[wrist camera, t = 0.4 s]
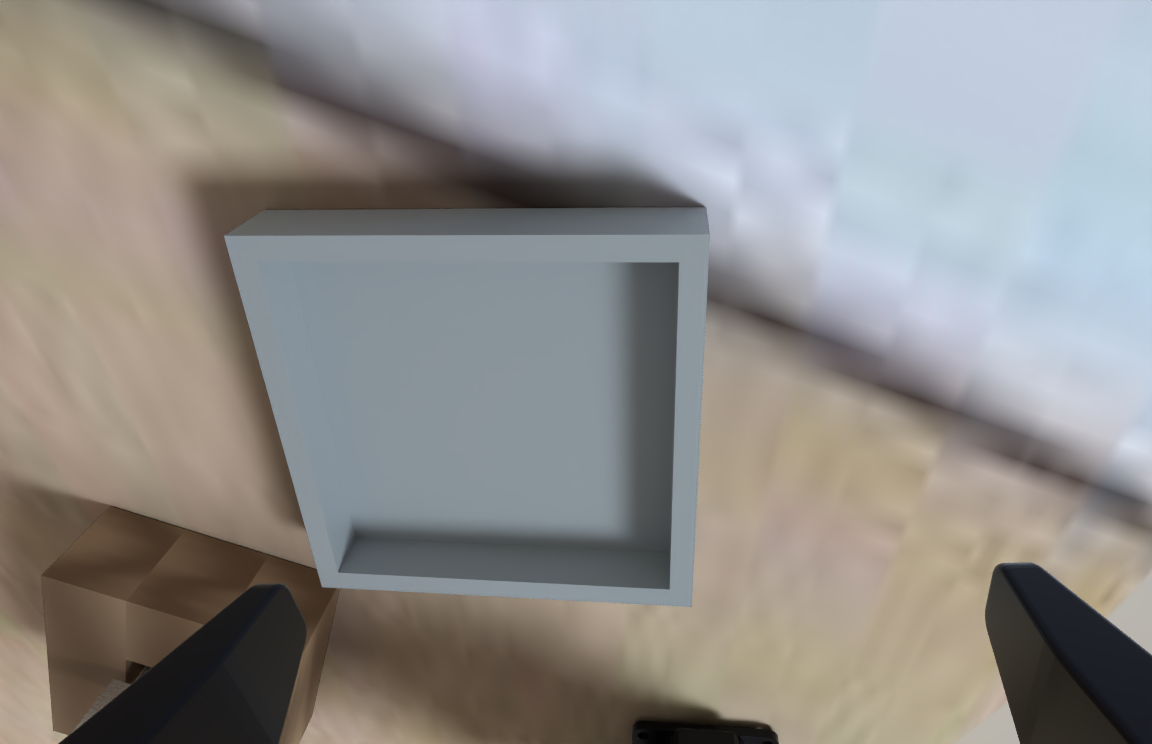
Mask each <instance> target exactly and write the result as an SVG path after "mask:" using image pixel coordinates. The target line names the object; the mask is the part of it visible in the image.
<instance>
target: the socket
mask: <svg viewBox="0 0 1152 744" xmlns="http://www.w3.org/2000/svg"><path fill="white" fill-rule="evenodd" d="M41 577H42V590H43V603H44V617H45V630H46V643H47V656H48V669H49V682H50V695H51V708H52V721H53V731H56V732H60V733H63V734H67V735H70V734H71V733H72V732H73V730H74V729H75V728H76V726H77V725H78V724H79V722H80V721H81V720H82V719H83V717H84V716H85V715H86V713H87V712H88V711H89V709H90V708H91V707H92V705H93V704H94V703H95V702H96V700H97V699H98V698H99V696H100V695H101V694H102V692H103V691H104V690H105V688H106V687H107V686H108V685H109V683H110V682H111V681H112V679H115V680H118V681H121V682H125V683H128V684H132V683H133V682H135V681H136V680H137V678H138V677H139V675H140V674H141V673H142V671H143V670H144V669H145V667H146V666H149V667H153V666H154V665H155V664H157V663H158V662H159V661H160V660H162V659H163V658H164V657H165V656H166V655H168V654H169V653H170V652H171V651H173V650H174V649H175V648H176V647H178V646H179V645H180V644H181V643H182V642H184V641H185V640H186V639H187V638H189V637H190V636H191V635H192V634H193V633H195V632H196V631H197V630H198V629H200V628H201V627H202V626H203V625H204V624H206V623H207V622H208V621H209V620H211V619H212V618H213V617H214V616H215V615H217V614H218V613H219V612H220V611H222V610H223V609H224V608H225V607H226V606H228V605H229V604H230V603H231V602H233V601H234V600H235V599H236V598H238V597H239V596H240V595H241V594H242V593H244V592H245V591H246V590H247V589H249V588H250V587H252V586H253V585H256V584H266V583H281V584H284V585H285V586H287V587H288V589H289V590H290V592H291V594H292V596H293V598H294V600H295V602H296V604H297V606H298V608H299V610H300V612H301V614H302V616H303V618H304V620H305V622H306V627H307V637H306V643H305V646H304V650H303V654H302V658H301V662H300V665H299V669H298V673H297V677H296V681H295V685H294V688H293V692H292V696H291V700H290V704H289V708H288V711H287V715H286V719H285V723H284V727H283V731H282V734H281V737H280V741H279V744H299V742H300V740H301V738H302V736H303V734H304V732H305V730H306V727H307V725H308V723H309V721H310V719H311V717H312V713H313V709H314V704H315V700H316V695H317V690H318V686H319V681H320V677H321V672H322V668H323V663H324V658H325V654H326V649H327V645H328V640H329V635H330V631H331V626H332V622H333V617H334V612H335V608H336V603H337V599H338V594H339V589H340V588H327V587H322V586H321V582H320V578H319V575H318V571H317V570H315V569H312V568H308V567H305V566H302V565H299V564H296V563H292V562H289V561H286V560H283V559H279V558H276V557H273V556H270V555H267V554H263V553H260V552H257V551H254V550H250V549H247V548H244V547H241V546H237V545H234V544H231V543H228V542H225V541H221V540H218V539H215V538H212V537H208V536H205V535H202V534H199V533H196V532H192V531H189V530H186V529H183V528H179V527H176V526H173V525H170V524H166V523H163V522H160V521H157V520H154V519H150V518H147V517H144V516H141V515H137V514H134V513H131V512H128V511H125V510H121V509H118V508H115V507H112V506H111V507H110V508H109V509H108V510H107V511H106V512H105V513H104V514H103V515H102V516H101V517H100V518H99V519H98V520H97V521H96V522H95V523H94V524H93V525H92V526H91V527H90V528H89V529H88V530H87V531H86V532H85V533H84V534H83V535H82V536H81V537H80V538H79V539H78V540H77V541H76V542H75V543H74V544H73V545H72V546H71V547H70V548H69V549H68V550H67V551H66V552H65V553H64V554H63V555H61V556H60V557H59V558H58V559H57V560H56V561H55V562H54V563H53V564H52V565H51V566H50V567H49V568H48V569H47V570H46V571H45V572H44V573H43V574H42V575H41Z"/></svg>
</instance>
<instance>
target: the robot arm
mask: <svg viewBox="0 0 1152 744" xmlns="http://www.w3.org/2000/svg"><path fill="white" fill-rule="evenodd" d="M985 621H986V627H987V632H988V635H989V639H990V642H991V645H992V649H993V652H994V656H995V659H996V663H997V666H998V669H999V673H1000V676H1001V680H1002V683H1003V686H1004V690H1005V693H1006V697H1007V700H1008V704H1009V707H1010V710H1011V714H1012V717H1013V721H1014V724H1015V728H1016V731H1017V734H1018V738H1019V741H1020V744H1152V655H1151V654H1150V653H1149V652H1147V651H1146V650H1145V649H1144V648H1142V647H1141V646H1140V645H1139V644H1137V643H1136V642H1135V641H1134V640H1132V639H1131V638H1130V637H1128V636H1127V635H1126V634H1125V633H1123V632H1122V631H1121V630H1120V629H1118V628H1117V627H1116V626H1115V625H1113V624H1112V623H1111V622H1110V621H1108V620H1107V619H1106V618H1105V617H1103V616H1102V615H1101V614H1100V613H1098V612H1097V611H1096V610H1095V609H1093V608H1092V607H1091V606H1090V605H1088V604H1087V603H1086V602H1085V601H1083V600H1082V599H1081V598H1079V597H1078V596H1077V595H1076V594H1074V593H1073V592H1072V591H1071V590H1069V589H1068V588H1067V587H1066V586H1064V585H1063V584H1062V583H1061V582H1059V581H1058V580H1057V579H1056V578H1054V577H1053V576H1052V575H1051V574H1049V573H1048V572H1047V571H1046V570H1044V569H1043V568H1042V567H1040V566H1038V565H1036V564H1034V563H1001V564H998V565H997V566H996V567H995V568H994V571H993V574H992V579H991V584H990V589H989V594H988V599H987V604H986V609H985ZM306 637H307V627H306V622H305V620H304V618H303V616H302V614H301V612H300V610H299V608H298V606H297V604H296V602H295V600H294V598H293V596H292V594H291V592H290V590H289V589H288V587H287V586H285V585H284V584H281V583H266V584H256V585H253V586H252V587H250V588H249V589H247V590H246V591H245V592H244V593H242V594H241V595H240V596H239V597H238V598H236V599H235V600H234V601H233V602H231V603H230V604H229V605H228V606H226V607H225V608H224V609H223V610H222V611H220V612H219V613H218V614H217V615H215V616H214V617H213V618H212V619H211V620H209V621H208V622H207V623H206V624H204V625H203V626H202V627H201V628H200V629H198V630H197V631H196V632H195V633H193V634H192V635H191V636H190V637H189V638H187V639H186V640H185V641H184V642H182V643H181V644H180V645H179V646H178V647H176V648H175V649H174V650H173V651H171V652H170V653H169V654H168V655H166V656H165V657H164V658H163V659H162V660H160V661H159V662H158V663H157V664H155V665H154V666H153V667H152V668H151V669H149V670H148V671H147V672H146V673H144V674H143V675H142V676H141V677H140V678H138V679H137V680H136V681H135V682H133V683H132V684H131V685H130V686H129V687H127V688H126V689H125V690H124V691H122V692H121V693H120V694H119V695H117V696H116V697H115V698H114V699H113V700H111V701H110V702H109V703H108V704H106V705H105V706H104V707H103V708H102V709H100V710H99V711H98V712H97V713H95V714H94V715H93V716H92V717H91V718H89V719H88V720H87V721H86V722H84V723H83V724H82V725H81V726H80V727H78V728H77V729H76V730H75V731H73V732H72V733H71V734H70V735H68V736H67V737H66V738H65V739H64V740H62V741H61V742H60V743H59V744H279V741H280V737H281V734H282V731H283V727H284V723H285V719H286V715H287V711H288V708H289V704H290V700H291V696H292V692H293V688H294V685H295V681H296V677H297V673H298V669H299V665H300V662H301V658H302V654H303V650H304V646H305V643H306ZM632 744H779V742H778V735H777V734H776V733H775V732H774V731H772V730H765V729H751V728H737V727H723V726H709V725H694V724H680V723H666V722H652V721H638V722H636V723H635V724H634V725H633V731H632Z"/></svg>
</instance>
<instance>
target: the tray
mask: <svg viewBox="0 0 1152 744" xmlns="http://www.w3.org/2000/svg"><path fill="white" fill-rule="evenodd" d="M224 238H225V242H226V246H227V249H228V253H229V256H230V260H231V263H232V267H233V271H234V274H235V278H236V281H237V285H238V289H239V292H240V296H241V299H242V303H243V306H244V310H245V314H246V317H247V321H248V324H249V328H250V331H251V335H252V339H253V342H254V346H255V349H256V353H257V357H258V360H259V364H260V367H261V371H262V374H263V378H264V382H265V385H266V389H267V392H268V396H269V399H270V403H271V407H272V410H273V414H274V417H275V421H276V424H277V428H278V432H279V435H280V439H281V442H282V446H283V450H284V453H285V457H286V460H287V464H288V467H289V471H290V475H291V478H292V482H293V485H294V489H295V492H296V496H297V500H298V503H299V507H300V510H301V514H302V518H303V521H304V525H305V528H306V532H307V535H308V539H309V543H310V546H311V550H312V553H313V557H314V560H315V564H316V568H317V571H318V575H319V578H320V582H321V586H322V587H327V588H346V589H364V590H383V591H402V592H421V593H439V594H458V595H477V596H496V597H515V598H533V599H552V600H571V601H590V602H608V603H627V604H646V605H665V606H683V607H692V587H693V567H694V547H695V526H696V506H697V486H698V465H699V445H700V425H701V404H702V384H703V364H704V343H705V323H706V303H707V282H708V262H709V242H710V232H709V225H708V218H707V211H706V207H651V208H503V209H354V210H263V211H262V212H260V213H259V214H257V215H256V216H254V217H252V218H251V219H249V220H248V221H246V222H245V223H243V224H241V225H240V226H238V227H237V228H235V229H234V230H232V231H231V232H229V233H227V234H226V235H224Z"/></svg>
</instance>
